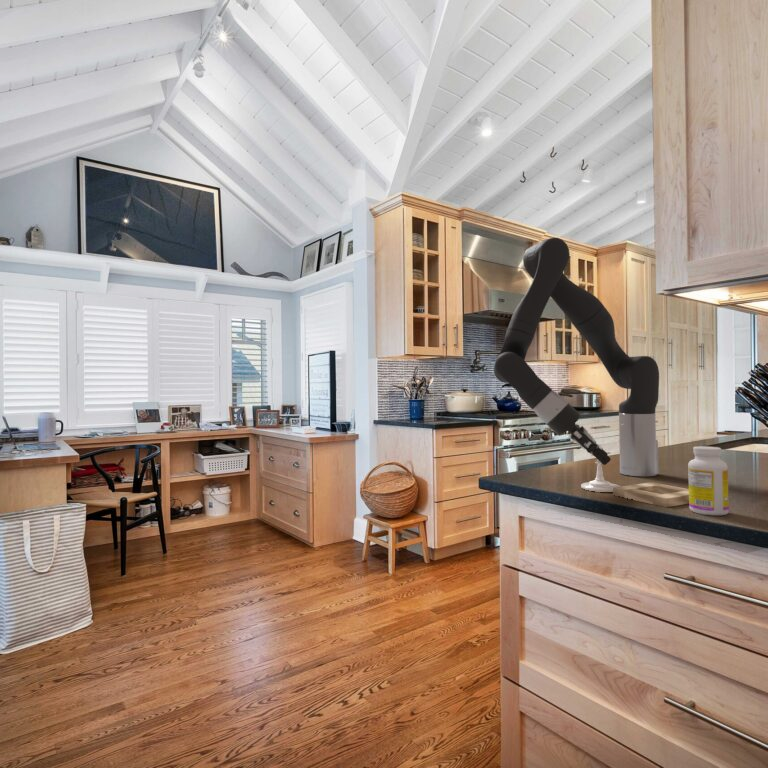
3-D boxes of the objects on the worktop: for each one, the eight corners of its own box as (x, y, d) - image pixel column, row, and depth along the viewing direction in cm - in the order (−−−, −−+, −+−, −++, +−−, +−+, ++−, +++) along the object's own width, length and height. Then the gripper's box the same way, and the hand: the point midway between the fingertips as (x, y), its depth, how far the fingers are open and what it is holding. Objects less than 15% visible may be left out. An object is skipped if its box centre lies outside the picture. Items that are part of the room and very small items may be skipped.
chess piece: (595, 482, 127) (594, 442, 127) (614, 485, 124) (613, 444, 123) (585, 485, 124) (584, 444, 124) (605, 488, 120) (604, 446, 120)
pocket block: (651, 489, 122) (651, 482, 122) (705, 500, 110) (705, 492, 110) (613, 495, 116) (613, 487, 116) (666, 507, 105) (666, 498, 105)
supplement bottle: (717, 508, 103) (716, 445, 103) (736, 516, 97) (735, 449, 97) (682, 508, 104) (681, 445, 104) (699, 516, 97) (698, 449, 97)
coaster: (599, 484, 130) (598, 480, 130) (629, 490, 122) (629, 487, 122) (573, 487, 126) (573, 484, 126) (603, 494, 118) (602, 490, 118)
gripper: (567, 403, 120) (621, 453, 116) (566, 401, 133) (615, 445, 129) (544, 425, 121) (596, 475, 117) (545, 421, 135) (593, 465, 131)
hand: (606, 459), depth 123 cm, fingers open, 8 cm apart
